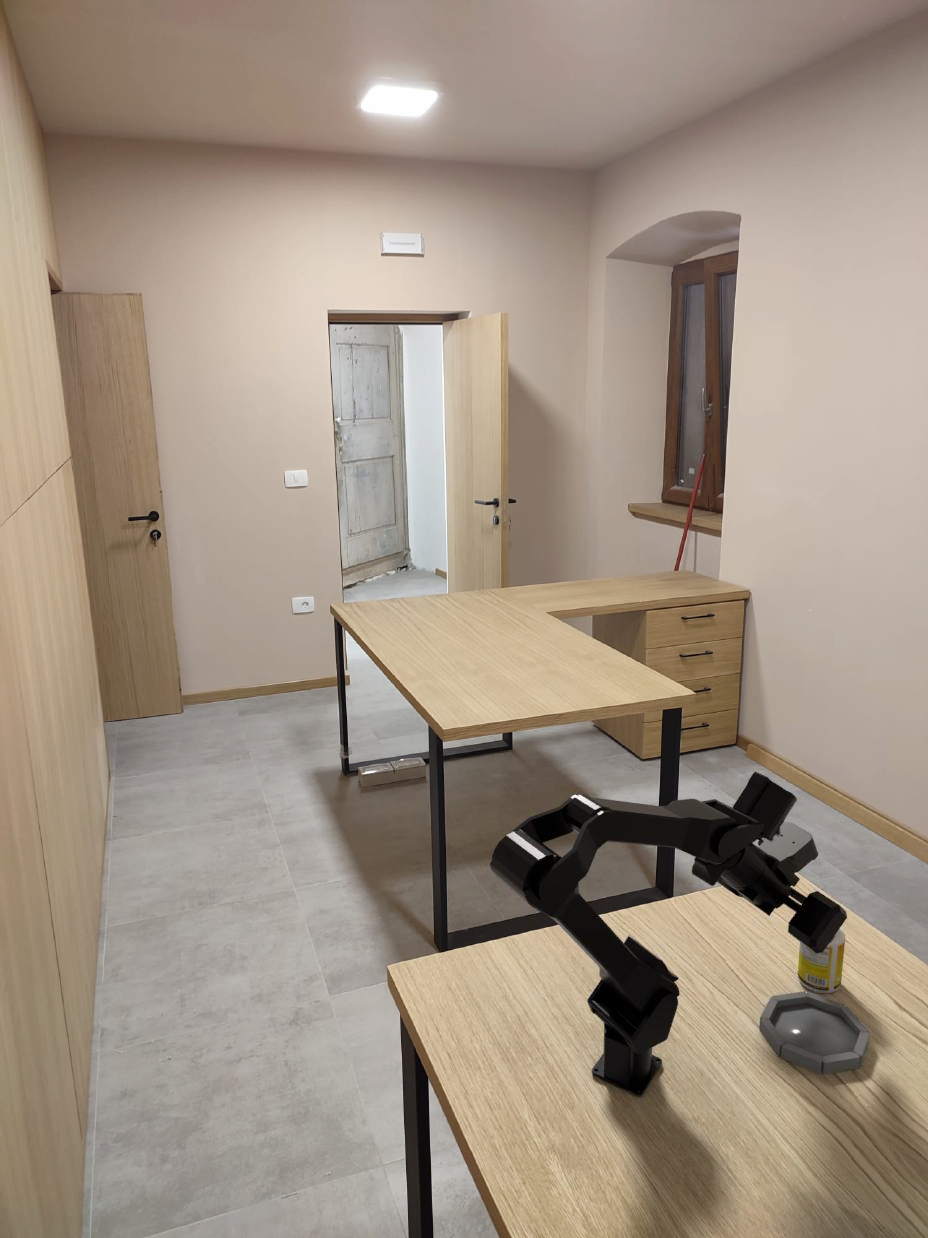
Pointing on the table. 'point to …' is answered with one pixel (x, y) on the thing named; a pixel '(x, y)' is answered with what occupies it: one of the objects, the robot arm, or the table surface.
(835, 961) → the supplement bottle
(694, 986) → the table surface
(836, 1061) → the dish
